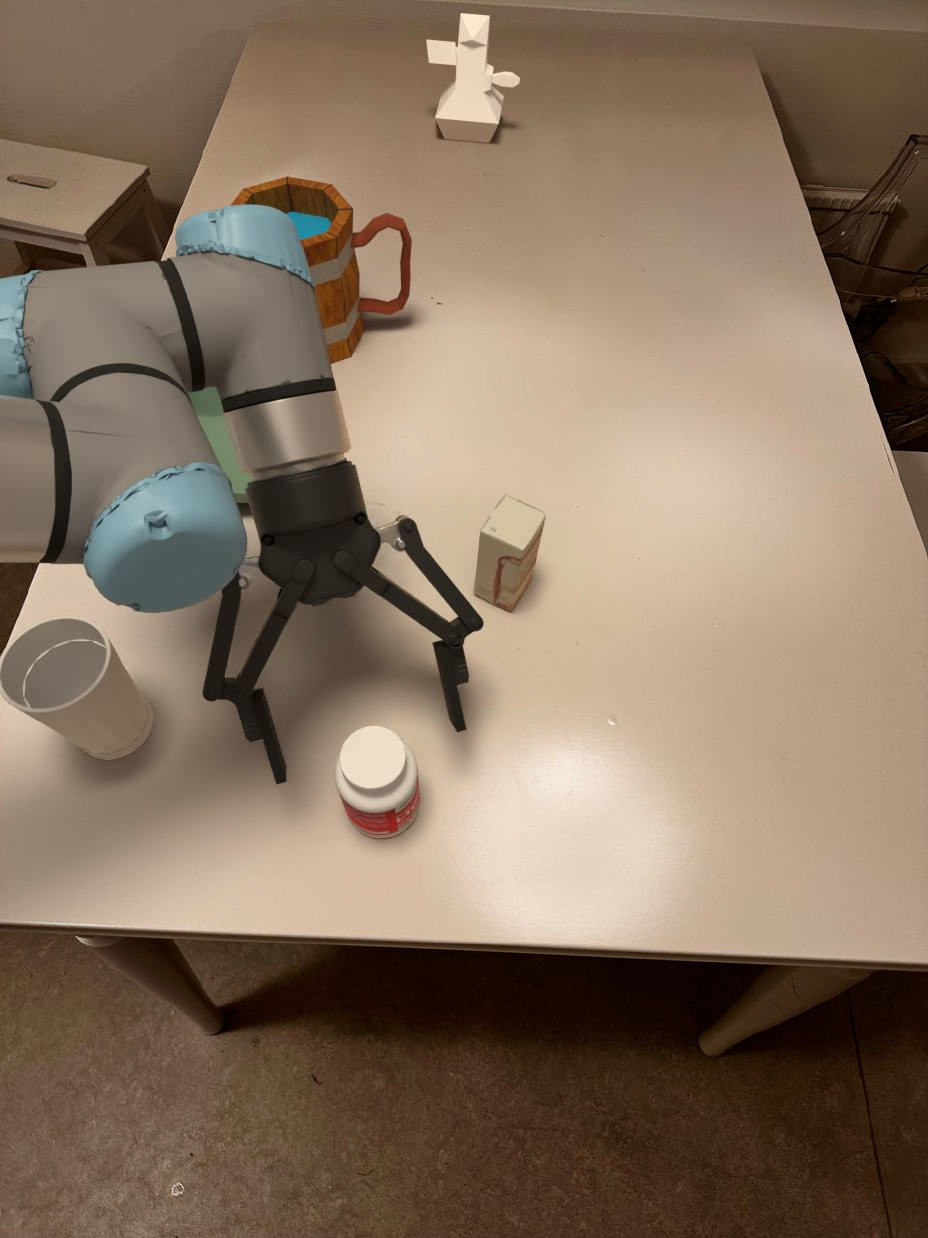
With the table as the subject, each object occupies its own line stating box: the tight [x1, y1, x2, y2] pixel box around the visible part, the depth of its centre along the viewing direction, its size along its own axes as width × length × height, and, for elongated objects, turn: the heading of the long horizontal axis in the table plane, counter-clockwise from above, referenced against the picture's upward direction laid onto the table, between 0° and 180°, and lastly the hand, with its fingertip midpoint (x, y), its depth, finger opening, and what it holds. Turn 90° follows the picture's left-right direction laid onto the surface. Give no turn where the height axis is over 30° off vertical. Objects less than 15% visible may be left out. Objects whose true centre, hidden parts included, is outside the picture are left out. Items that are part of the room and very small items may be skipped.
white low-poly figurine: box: [426, 12, 521, 144], centre depth 109 cm, size 8×14×14 cm, turn 83°
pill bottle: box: [334, 725, 421, 839], centre depth 57 cm, size 6×6×11 cm
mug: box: [229, 175, 413, 364], centre depth 84 cm, size 20×14×15 cm
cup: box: [0, 614, 155, 761], centre depth 59 cm, size 8×8×12 cm
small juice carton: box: [473, 493, 547, 612], centre depth 68 cm, size 5×4×10 cm
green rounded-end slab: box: [188, 387, 252, 504], centre depth 80 cm, size 22×12×4 cm, turn 179°
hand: (371, 750), depth 56 cm, fingers open, 13 cm apart
